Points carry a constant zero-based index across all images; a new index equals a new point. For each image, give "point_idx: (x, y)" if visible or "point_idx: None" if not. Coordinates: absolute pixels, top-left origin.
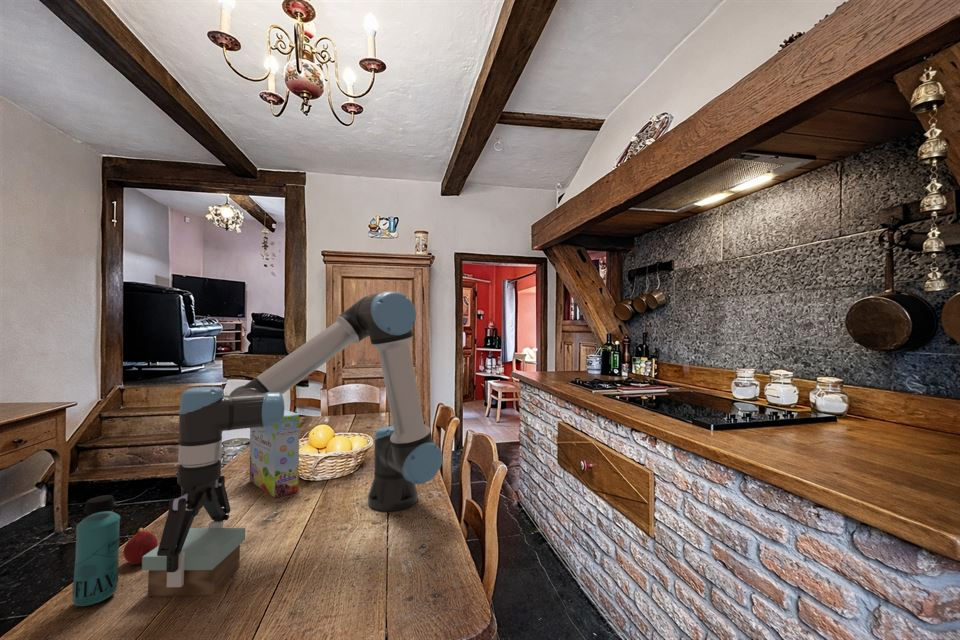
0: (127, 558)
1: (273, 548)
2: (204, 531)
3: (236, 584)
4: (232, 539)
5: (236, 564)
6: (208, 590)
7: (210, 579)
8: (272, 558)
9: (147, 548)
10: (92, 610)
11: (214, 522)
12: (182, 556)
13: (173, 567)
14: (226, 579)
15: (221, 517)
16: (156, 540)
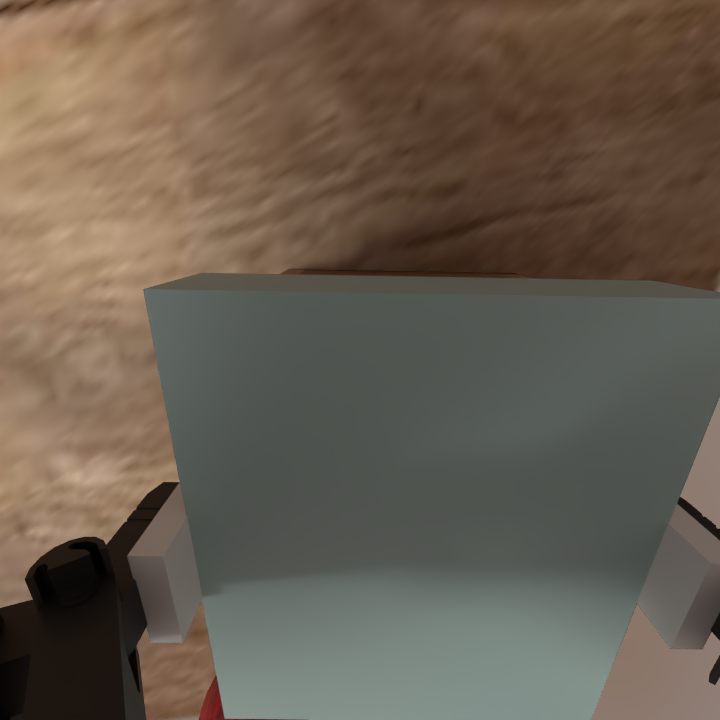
0: None
1: (54, 181)
2: (261, 595)
3: (414, 211)
4: (404, 292)
5: (310, 274)
6: None
7: None
8: (158, 127)
9: None
10: None
11: (166, 610)
12: (703, 533)
13: (700, 515)
14: (401, 273)
15: (117, 612)
16: (218, 710)
